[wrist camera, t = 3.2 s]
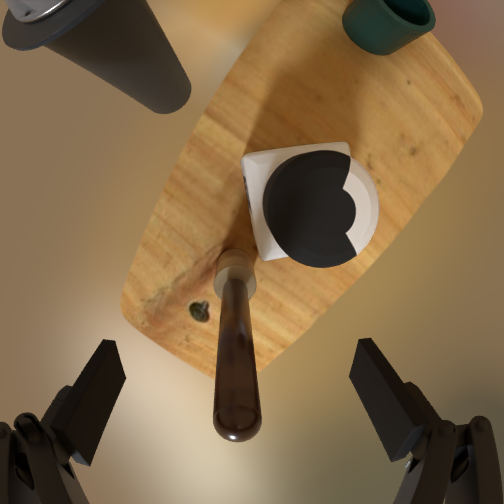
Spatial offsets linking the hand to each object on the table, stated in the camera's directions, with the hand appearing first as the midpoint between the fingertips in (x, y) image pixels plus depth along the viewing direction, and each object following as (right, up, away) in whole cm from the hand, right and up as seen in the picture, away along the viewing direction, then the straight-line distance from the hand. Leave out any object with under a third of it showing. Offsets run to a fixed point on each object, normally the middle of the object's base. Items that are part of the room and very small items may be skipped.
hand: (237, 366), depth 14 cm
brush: (-1, +5, +14) cm, 15 cm away
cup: (+14, +31, +7) cm, 35 cm away
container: (+4, +12, +13) cm, 18 cm away
